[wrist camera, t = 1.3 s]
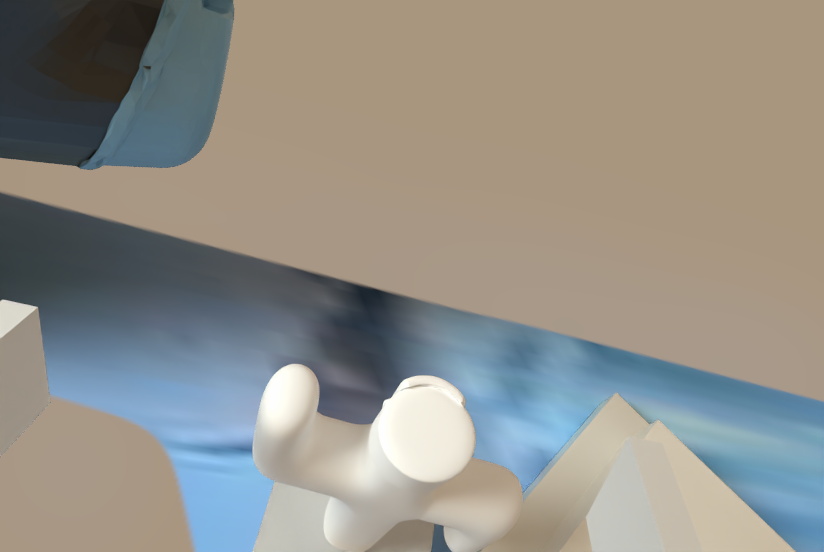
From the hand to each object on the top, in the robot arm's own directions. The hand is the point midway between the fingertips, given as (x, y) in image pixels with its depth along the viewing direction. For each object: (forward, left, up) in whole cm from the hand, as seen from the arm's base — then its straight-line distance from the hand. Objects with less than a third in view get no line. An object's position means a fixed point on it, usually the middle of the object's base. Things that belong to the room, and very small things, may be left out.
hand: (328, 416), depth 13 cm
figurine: (+1, +3, -18) cm, 18 cm away
